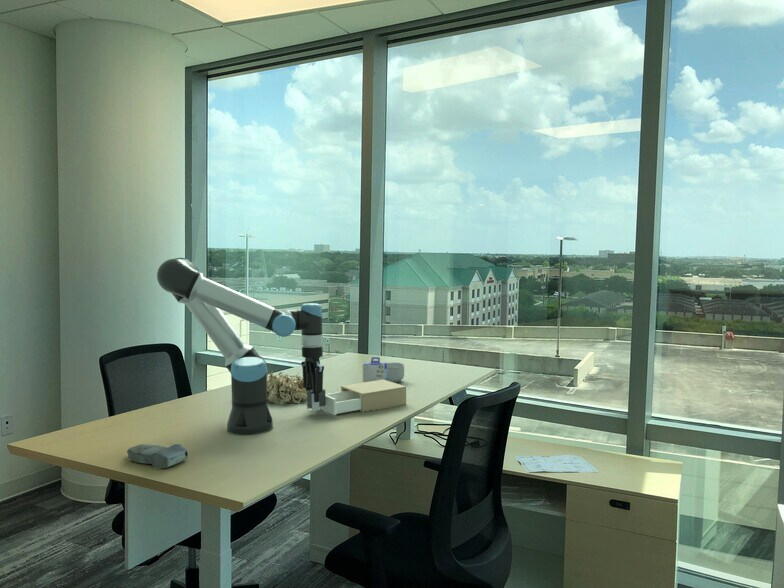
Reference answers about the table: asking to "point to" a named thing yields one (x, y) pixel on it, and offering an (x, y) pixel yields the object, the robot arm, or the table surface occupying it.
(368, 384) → the sleeve
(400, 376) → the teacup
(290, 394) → the dried lichen
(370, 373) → the ink cartridge box
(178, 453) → the handheld device
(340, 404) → the tray
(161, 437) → the table surface
